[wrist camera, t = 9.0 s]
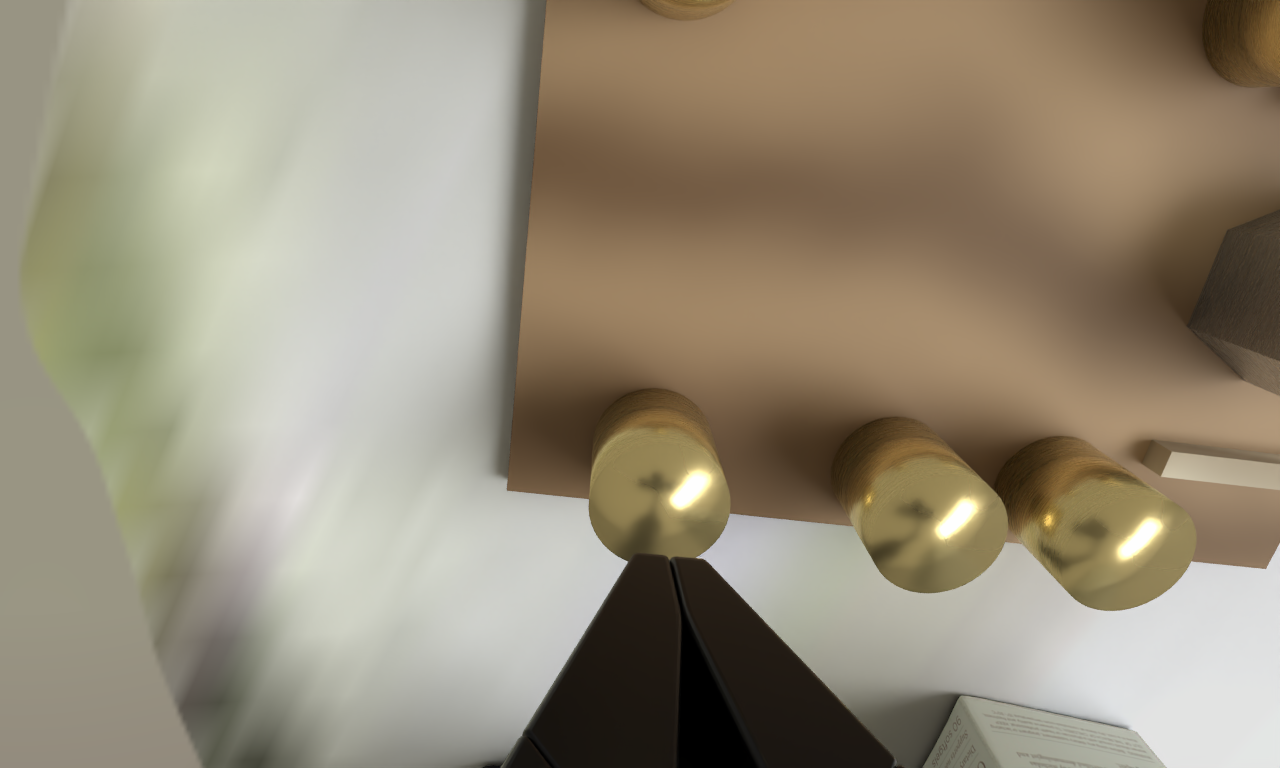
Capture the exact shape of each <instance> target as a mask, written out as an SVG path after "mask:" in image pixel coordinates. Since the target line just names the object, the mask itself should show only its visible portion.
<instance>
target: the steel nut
mask: <svg viewBox="0 0 1280 768" xmlns="http://www.w3.org/2000/svg"><path fill="white" fill-rule="evenodd" d="M1187 327H1188V328H1189V329H1190V330H1191V331H1192V332H1193V333H1194V334H1195V335H1196V336H1197V337H1198V338H1199V339H1200V340H1201V341H1203V342H1204V343H1205V344H1206V345H1207V346H1208V347H1209V348H1210V349H1211V350H1212V351H1213V352H1214V353H1215V354H1216V355H1217V356H1218V357H1219V358H1220V359H1221V360H1222V361H1224V362H1225V363H1226V364H1227V365H1228V366H1229V367H1230V368H1231V369H1232V370H1233V371H1234V372H1235V373H1236V374H1237V375H1238V376H1239V377H1240V378H1241V379H1242V380H1244V381H1246V382H1248V383H1250V384H1253V385H1255V386H1257V387H1260V388H1262V389H1264V390H1267V391H1269V392H1271V393H1274V394H1276V395H1278V396H1280V210H1277V211H1274V212H1272V213H1269V214H1267V215H1264V216H1262V217H1259V218H1256V219H1254V220H1251V221H1249V222H1246V223H1244V224H1241V225H1238V226H1236V227H1233V228H1231V229H1228V230H1227V232H1226V234H1225V237H1224V239H1223V241H1222V244H1221V246H1220V249H1219V251H1218V253H1217V256H1216V258H1215V261H1214V263H1213V265H1212V268H1211V270H1210V273H1209V275H1208V277H1207V280H1206V282H1205V284H1204V287H1203V289H1202V292H1201V294H1200V296H1199V299H1198V301H1197V304H1196V306H1195V308H1194V311H1193V313H1192V316H1191V318H1190V320H1189V323H1188V325H1187Z"/></svg>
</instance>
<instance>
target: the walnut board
mask: <svg viewBox="0 0 1280 768" xmlns="http://www.w3.org/2000/svg"><path fill="white" fill-rule="evenodd" d="M1207 1H1208V0H735V1H734V2H733V3H732V4H731V5H729V6H728V7H727V8H725V9H724V10H722V11H720V12H719V13H717V14H715V15H712V16H710V17H707V18H704V19H699V20H690V21H683V20H674V19H670V18H666V17H664V16H661V15H659V14H657V13H655V12H653V11H651V10H650V9H648V8H647V7H646V6H644V5H643V4H642V3H641V2H640V1H639V0H547V1H546V14H545V26H544V38H543V51H542V63H541V75H540V88H539V100H538V112H537V125H536V137H535V149H534V162H533V174H532V186H531V199H530V211H529V223H528V236H527V248H526V260H525V273H524V285H523V297H522V309H521V322H520V334H519V346H518V359H517V371H516V383H515V396H514V408H513V420H512V433H511V445H510V457H509V470H508V482H507V491H517V492H526V493H536V494H546V495H555V496H565V497H575V498H584V499H589V495H590V480H591V465H592V449H593V436H594V431H595V428H596V425H597V423H598V421H599V419H600V417H601V415H602V414H603V413H604V411H605V410H606V409H607V408H608V407H609V406H610V405H611V404H612V403H613V402H615V401H616V400H617V399H619V398H620V397H622V396H624V395H626V394H628V393H631V392H634V391H637V390H642V389H650V388H658V389H666V390H670V391H674V392H677V393H679V394H681V395H683V396H685V397H687V398H688V399H690V400H691V401H692V402H693V403H695V404H696V405H697V406H698V407H699V408H700V410H701V411H702V412H703V414H704V415H705V417H706V419H707V421H708V423H709V426H710V429H711V433H712V436H713V439H714V443H715V446H716V449H717V452H718V456H719V459H720V462H721V466H722V469H723V472H724V476H725V479H726V482H727V485H728V489H729V493H730V514H739V515H749V516H759V517H768V518H778V519H788V520H797V521H807V522H817V523H826V524H836V525H846V526H853V525H852V523H851V521H850V520H849V518H848V516H847V514H846V513H845V511H844V509H843V508H842V506H841V504H840V502H839V501H838V499H837V497H836V495H835V493H834V491H833V488H832V484H831V468H832V463H833V460H834V457H835V455H836V453H837V451H838V449H839V448H840V446H841V445H842V443H843V442H844V441H845V440H846V439H847V438H848V437H849V436H850V435H851V434H852V433H853V432H854V431H856V430H857V429H858V428H860V427H862V426H863V425H865V424H867V423H870V422H872V421H875V420H878V419H881V418H887V417H907V418H912V419H915V420H918V421H920V422H922V423H924V424H926V425H927V426H929V427H930V428H931V429H932V430H933V431H934V432H935V433H936V434H937V435H938V436H939V437H940V438H942V439H943V440H944V441H945V442H946V443H947V444H948V445H949V446H950V447H951V448H952V449H953V450H954V451H955V452H956V453H957V454H958V455H959V456H960V457H961V458H962V459H963V460H964V461H965V462H966V463H967V464H968V465H969V466H970V467H971V468H972V469H973V470H974V471H975V472H976V473H977V474H978V475H979V476H980V477H981V478H982V479H983V480H984V481H985V482H986V483H987V484H988V485H989V486H990V487H991V488H992V489H993V488H994V484H995V481H996V479H997V476H998V474H999V473H1000V471H1001V469H1002V468H1003V466H1004V465H1005V464H1006V462H1007V461H1008V460H1009V459H1010V458H1011V457H1012V456H1013V455H1015V454H1016V453H1017V452H1018V451H1020V450H1021V449H1022V448H1024V447H1026V446H1027V445H1029V444H1031V443H1033V442H1036V441H1038V440H1041V439H1044V438H1048V437H1054V436H1070V437H1076V438H1079V439H1082V440H1084V441H1086V442H1088V443H1090V444H1091V445H1093V446H1094V447H1095V448H1097V449H1098V450H1100V451H1101V452H1103V453H1104V454H1105V455H1107V456H1108V457H1110V458H1111V459H1113V460H1114V461H1116V462H1117V463H1118V464H1120V465H1121V466H1123V467H1124V468H1126V469H1127V470H1128V471H1130V472H1131V473H1133V474H1134V475H1136V476H1137V477H1138V478H1140V479H1141V480H1143V481H1144V482H1146V483H1147V484H1149V485H1150V486H1151V487H1153V488H1154V489H1156V490H1157V491H1159V492H1160V493H1161V494H1163V495H1164V496H1166V497H1167V498H1169V499H1170V500H1172V501H1173V502H1174V503H1176V504H1177V505H1179V506H1180V507H1181V508H1183V509H1184V510H1185V511H1186V512H1187V513H1188V514H1189V516H1190V517H1191V519H1192V521H1193V523H1194V526H1195V530H1196V538H1197V541H1196V548H1195V552H1194V556H1193V558H1192V560H1191V561H1194V562H1204V563H1213V564H1223V565H1233V566H1242V567H1252V568H1262V569H1266V568H1267V566H1268V564H1269V562H1270V560H1271V558H1272V556H1273V554H1274V553H1275V551H1276V549H1277V547H1278V545H1279V543H1280V396H1278V395H1276V394H1274V393H1271V392H1269V391H1267V390H1264V389H1262V388H1260V387H1257V386H1255V385H1253V384H1250V383H1248V382H1246V381H1244V380H1242V379H1241V378H1240V377H1239V376H1238V375H1237V374H1236V373H1235V372H1234V371H1233V370H1232V369H1231V368H1230V367H1229V366H1228V365H1227V364H1226V363H1225V362H1224V361H1222V360H1221V359H1220V358H1219V357H1218V356H1217V355H1216V354H1215V353H1214V352H1213V351H1212V350H1211V349H1210V348H1209V347H1208V346H1207V345H1206V344H1205V343H1204V342H1203V341H1201V340H1200V339H1199V338H1198V337H1197V336H1196V335H1195V334H1194V333H1193V332H1192V331H1191V330H1190V329H1189V328H1188V327H1187V325H1188V323H1189V320H1190V318H1191V316H1192V313H1193V311H1194V308H1195V306H1196V304H1197V301H1198V299H1199V296H1200V294H1201V292H1202V289H1203V287H1204V284H1205V282H1206V280H1207V277H1208V275H1209V273H1210V270H1211V268H1212V265H1213V263H1214V261H1215V258H1216V256H1217V253H1218V251H1219V249H1220V246H1221V244H1222V241H1223V239H1224V237H1225V234H1226V232H1227V230H1228V229H1231V228H1233V227H1236V226H1238V225H1241V224H1244V223H1246V222H1249V221H1251V220H1254V219H1256V218H1259V217H1262V216H1264V215H1267V214H1269V213H1272V212H1274V211H1277V210H1280V87H1257V88H1250V87H1242V86H1238V85H1235V84H1232V83H1230V82H1228V81H1226V80H1225V79H1223V78H1222V77H1221V76H1220V75H1219V74H1218V73H1217V72H1216V71H1215V70H1214V69H1213V67H1212V66H1211V65H1210V63H1209V61H1208V59H1207V56H1206V53H1205V50H1204V45H1203V40H1202V25H1203V17H1204V12H1205V8H1206V5H1207ZM1005 542H1010V543H1020V544H1022V543H1021V542H1020V541H1019V540H1018V539H1017V538H1016V537H1015V536H1014V535H1013V534H1012V533H1011V531H1010V530H1009V529H1008V531H1007V537H1006V540H1005Z"/></svg>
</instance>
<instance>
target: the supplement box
mask: <svg viewBox="0 0 1280 768" xmlns="http://www.w3.org/2000/svg"><path fill="white" fill-rule="evenodd" d="M923 768H1166V767H1165V765H1164V764H1163V763H1162V762H1161V761H1160V759H1159V758H1158V757H1157V756H1156V755H1155V753H1154V752H1153V751H1152V750H1151V749H1150V747H1149V746H1148V745H1147V744H1146V742H1145V741H1144V740H1143V739H1142V738H1141V736H1140V735H1139V734H1138V733H1137V732H1135V731H1132V730H1128V729H1124V728H1119V727H1114V726H1110V725H1106V724H1101V723H1097V722H1092V721H1087V720H1082V719H1077V718H1073V717H1069V716H1064V715H1058V714H1054V713H1050V712H1045V711H1041V710H1036V709H1031V708H1026V707H1020V706H1016V705H1012V704H1007V703H1001V702H996V701H992V700H988V699H982V698H978V697H970V696H960V697H959V699H958V700H957V702H956V705H955V707H954V709H953V711H952V713H951V715H950V717H949V720H948V722H947V724H946V726H945V727H944V729H943V731H942V733H941V735H940V737H939V739H938V741H937V743H936V745H935V746H934V748H933V750H932V752H931V754H930V755H929V757H928V759H927V761H926V762H925V764H924V766H923Z"/></svg>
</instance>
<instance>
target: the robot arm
mask: <svg viewBox="0 0 1280 768" xmlns="http://www.w3.org/2000/svg"><path fill="white" fill-rule="evenodd" d="M896 764H897V760H896V758H895V757H894V756H893V755H892V754H891V753H890V752H889V751H888V750H887V749H886V748H885V747H884V746H883V745H882V744H881V742H880V741H879V740H878V739H877V738H876V737H875V736H874V735H873V734H872V733H871V732H870V731H869V730H868V729H867V728H866V727H865V726H864V725H863V724H862V723H861V722H860V721H859V720H858V718H857V717H856V716H855V715H854V714H853V713H852V712H851V711H850V710H849V709H848V708H847V707H846V706H845V705H844V704H843V703H842V702H841V701H840V700H839V699H838V698H837V697H836V696H835V694H834V693H833V692H832V691H831V690H830V689H829V688H828V687H827V686H826V685H825V684H824V683H823V682H822V681H821V680H820V679H819V678H818V677H817V676H816V675H815V674H814V673H813V672H812V671H811V669H810V668H809V667H808V666H807V665H806V664H805V663H804V662H803V661H802V660H801V659H800V658H799V657H798V656H797V655H796V654H795V653H794V652H793V651H792V650H791V649H790V648H789V647H788V645H787V644H786V643H785V642H784V641H783V640H782V639H781V638H780V637H779V636H778V635H777V634H776V633H775V632H774V631H773V630H772V629H771V628H770V627H769V626H768V625H767V624H766V623H765V621H764V620H763V619H762V618H761V617H760V616H759V615H758V614H757V613H756V612H755V611H754V610H753V609H752V608H751V607H750V606H749V605H748V604H747V603H746V602H745V601H744V600H743V599H742V597H741V596H740V595H739V594H738V593H737V592H736V591H735V590H734V589H733V588H732V587H731V586H730V585H729V584H728V583H727V582H726V581H725V580H724V579H723V578H722V577H721V576H720V575H719V574H718V572H717V571H716V570H715V569H714V568H713V567H712V566H711V565H710V564H709V563H708V562H707V561H705V560H704V559H700V558H689V557H679V556H675V557H672V558H671V559H670V560H669V559H668V557H667V556H665V555H658V554H648V553H635V554H634V555H633V556H632V557H631V558H630V560H629V562H628V563H627V565H626V567H625V568H624V570H623V571H622V573H621V575H620V576H619V578H618V579H617V581H616V583H615V584H614V586H613V588H612V589H611V591H610V592H609V594H608V596H607V597H606V599H605V600H604V602H603V604H602V605H601V607H600V609H599V610H598V612H597V613H596V615H595V617H594V618H593V620H592V622H591V623H590V625H589V626H588V628H587V630H586V631H585V633H584V634H583V636H582V638H581V639H580V641H579V643H578V644H577V646H576V647H575V649H574V651H573V652H572V654H571V655H570V657H569V659H568V660H567V662H566V664H565V665H564V667H563V668H562V670H561V672H560V673H559V675H558V676H557V678H556V680H555V681H554V683H553V685H552V686H551V688H550V689H549V691H548V693H547V694H546V696H545V698H544V699H543V701H542V702H541V704H540V706H539V707H538V709H537V710H536V712H535V714H534V715H533V717H532V719H531V720H530V722H529V723H528V725H527V727H526V728H525V730H524V732H523V735H522V737H520V738H519V739H518V740H517V742H516V744H515V745H514V747H513V748H512V750H511V752H510V753H509V755H508V756H507V758H506V760H505V761H504V763H503V765H502V766H495V765H491V766H485V767H483V768H905V767H904V766H902V765H898V766H896Z"/></svg>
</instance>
